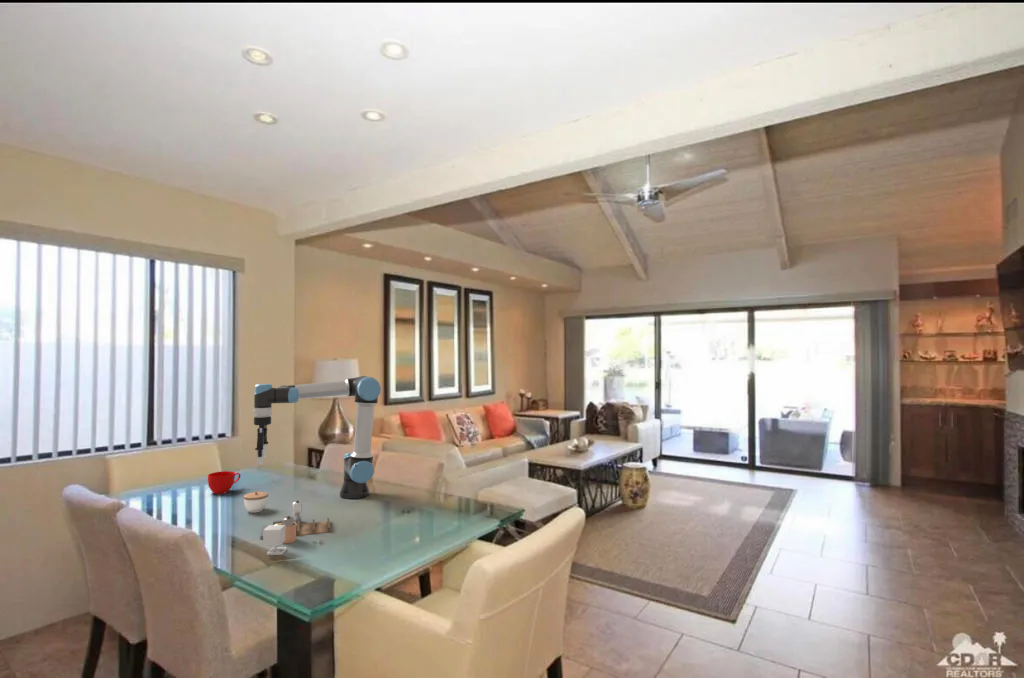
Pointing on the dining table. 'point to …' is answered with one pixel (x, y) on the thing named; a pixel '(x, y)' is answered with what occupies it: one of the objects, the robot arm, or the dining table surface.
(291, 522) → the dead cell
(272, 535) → the security camera
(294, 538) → the octagonal tan cylinder
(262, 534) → the cradle
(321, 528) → the trough board
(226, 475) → the ceramic cup
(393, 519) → the dining table surface
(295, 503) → the cell
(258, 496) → the lidded jar
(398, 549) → the dining table surface
